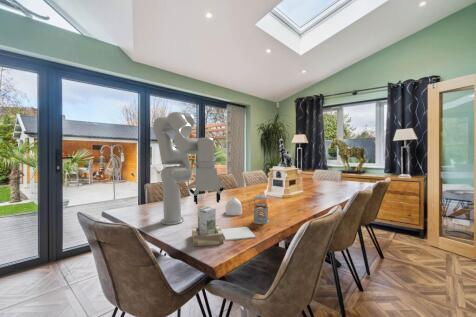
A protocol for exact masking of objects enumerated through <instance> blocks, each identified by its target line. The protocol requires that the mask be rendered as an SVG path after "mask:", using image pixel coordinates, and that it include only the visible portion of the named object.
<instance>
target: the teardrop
mask: <svg viewBox="0 0 476 317" xmlns="http://www.w3.org/2000/svg"><path fill="white" fill-rule="evenodd" d="M224 213H225V215H227V216H239V215H242V214H243V205H242V203H241V201H240V200H239V199H238V198H237V197H235V195H234V194H233V196H232V197H231V198H230V199H228V201H227V202H226V205H225V212H224Z"/></svg>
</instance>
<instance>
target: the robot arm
mask: <svg viewBox="0 0 476 317" xmlns="http://www.w3.org/2000/svg"><path fill="white" fill-rule="evenodd" d="M195 122H196V120H195V117H194V116H193V114H191V113H189V112H181V111H173V112H171V113H169V114H168V115H167V116H165V117H164V116H161V117H156V118H154V121H153V122H152V123H153V124H152V125H153V126H152V127H153V128H152V129H153V133H154V135H155V138H156V140H157V144H158V149H159V156H160V161H161V162H162V164H163V165H167V166H165V167H164V168H162V169H161V172H160V177H161V184H162V198H163V199H162V200H163V202H162V204H163V218H161V219H160V223H161V224H162V225H166V226H167V225H169V226H170V225H172V226H173V225H179V224H181V223H183V222H184V221H185V220H184V219H185V218H184V217H182V202H181V189H180V187H179V186H178V185H177V184H178V183H186V182H190V180H192V177H193V173H192V172H193V171H192V166H191V161H190V156H189V155H196V156H197V162H194V167H197V168H196V169H195V178H194V181H192V182H190V183H189V184H188V185H187V189H188V190H189V193H191V194H192V195H193V202H194V203H195V205H198V202H199V201H198V193H199V192H211V191H216V195H215V196H216V198H215V199H216V203H220V201H221V193H222V192H223V191H224V190H225V187H226V183H225V182H223V181H221V180H219V175H218V169H217V167H216V166H215V141H214V139H213V138H212V137H199V138H198V137H197V138H196V137H190V135H191V134H192V132H193V127H194V126H195ZM168 133H174V135H173V138H172V137H171V136H170V135H169V134H168ZM171 165H172V166H171ZM220 185H221V186H220ZM219 186H220V188H219ZM192 187H195V189H194V190H193V188H192Z"/></svg>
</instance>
